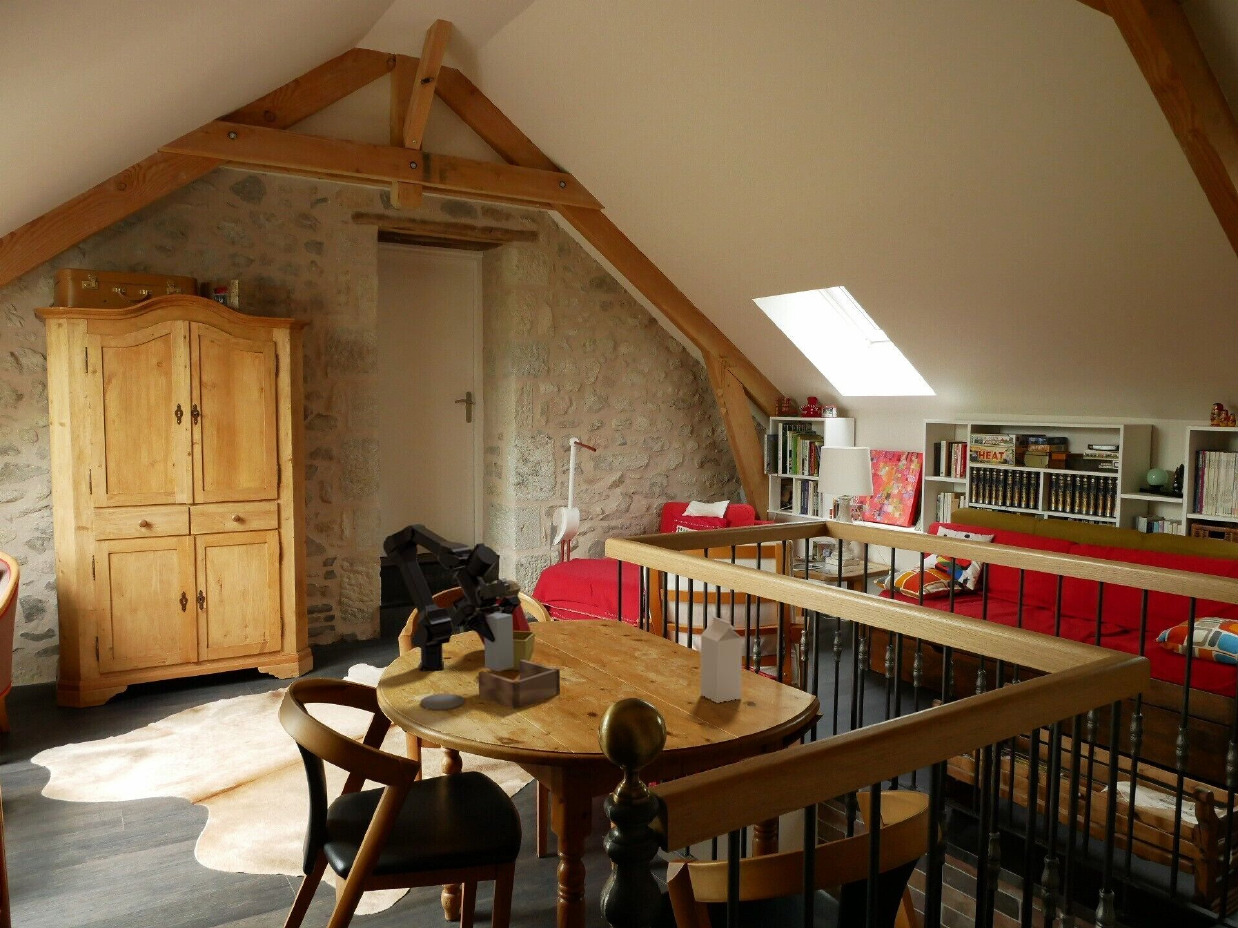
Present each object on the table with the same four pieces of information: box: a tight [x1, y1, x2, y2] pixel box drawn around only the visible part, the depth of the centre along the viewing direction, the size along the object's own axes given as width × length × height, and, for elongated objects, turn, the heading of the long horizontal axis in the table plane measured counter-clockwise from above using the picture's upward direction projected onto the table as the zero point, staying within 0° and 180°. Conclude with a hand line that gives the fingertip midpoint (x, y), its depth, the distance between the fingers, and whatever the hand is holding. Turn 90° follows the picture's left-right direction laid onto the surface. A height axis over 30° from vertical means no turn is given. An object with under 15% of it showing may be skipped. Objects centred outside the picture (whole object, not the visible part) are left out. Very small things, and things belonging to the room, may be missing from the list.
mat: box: [420, 693, 465, 711], centre depth 213 cm, size 10×10×1 cm
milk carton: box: [700, 616, 743, 704], centre depth 217 cm, size 7×7×19 cm
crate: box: [478, 659, 561, 710], centre depth 219 cm, size 13×14×6 cm
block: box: [483, 613, 514, 672], centre depth 223 cm, size 5×5×13 cm
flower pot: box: [505, 631, 536, 671], centre depth 241 cm, size 9×9×9 cm
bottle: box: [476, 579, 531, 645], centre depth 257 cm, size 16×14×20 cm
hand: (502, 639), depth 222 cm, fingers closed on block, 5 cm apart
